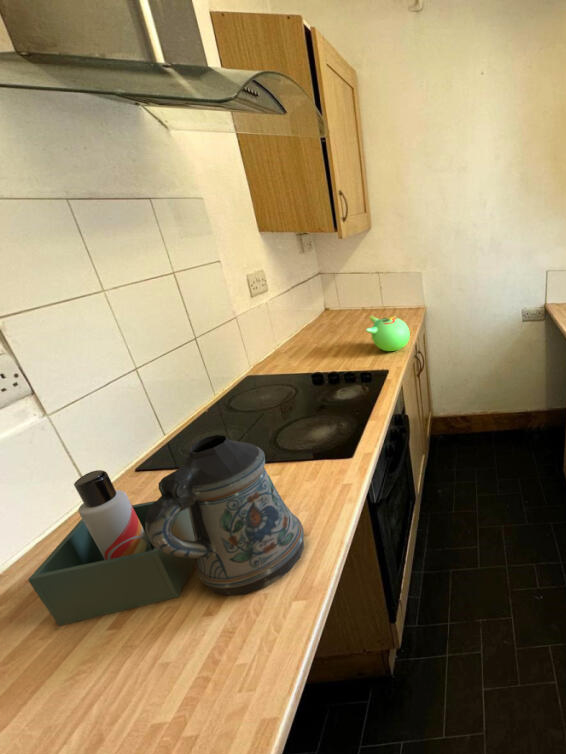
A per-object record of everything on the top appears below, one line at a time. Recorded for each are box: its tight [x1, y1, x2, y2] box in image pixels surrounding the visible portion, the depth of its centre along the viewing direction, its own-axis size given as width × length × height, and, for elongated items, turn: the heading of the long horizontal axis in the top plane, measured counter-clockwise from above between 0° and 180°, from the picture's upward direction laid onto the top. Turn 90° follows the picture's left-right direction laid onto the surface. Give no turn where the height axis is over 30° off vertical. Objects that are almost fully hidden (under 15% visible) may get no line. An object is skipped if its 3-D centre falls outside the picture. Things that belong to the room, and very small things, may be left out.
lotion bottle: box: [73, 469, 153, 560], centre depth 68 cm, size 6×6×20 cm
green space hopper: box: [365, 315, 411, 352], centre depth 177 cm, size 18×17×15 cm
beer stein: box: [145, 434, 305, 597], centre depth 68 cm, size 16×19×25 cm
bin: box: [27, 500, 197, 627], centre depth 70 cm, size 16×15×10 cm
